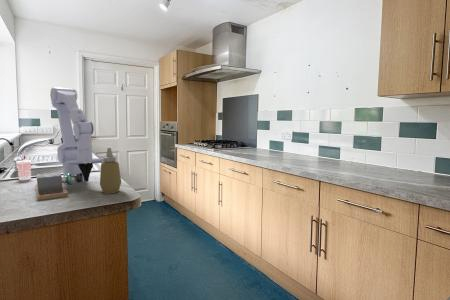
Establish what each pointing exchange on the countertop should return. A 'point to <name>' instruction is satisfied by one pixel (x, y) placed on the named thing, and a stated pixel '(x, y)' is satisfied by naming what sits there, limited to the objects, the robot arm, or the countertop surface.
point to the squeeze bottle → (110, 174)
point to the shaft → (72, 178)
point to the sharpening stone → (50, 186)
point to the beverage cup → (24, 169)
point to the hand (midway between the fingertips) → (86, 180)
